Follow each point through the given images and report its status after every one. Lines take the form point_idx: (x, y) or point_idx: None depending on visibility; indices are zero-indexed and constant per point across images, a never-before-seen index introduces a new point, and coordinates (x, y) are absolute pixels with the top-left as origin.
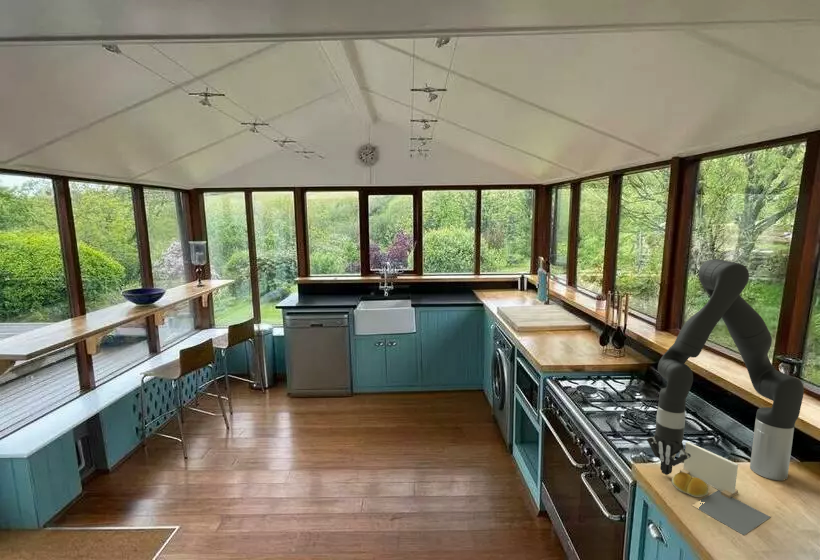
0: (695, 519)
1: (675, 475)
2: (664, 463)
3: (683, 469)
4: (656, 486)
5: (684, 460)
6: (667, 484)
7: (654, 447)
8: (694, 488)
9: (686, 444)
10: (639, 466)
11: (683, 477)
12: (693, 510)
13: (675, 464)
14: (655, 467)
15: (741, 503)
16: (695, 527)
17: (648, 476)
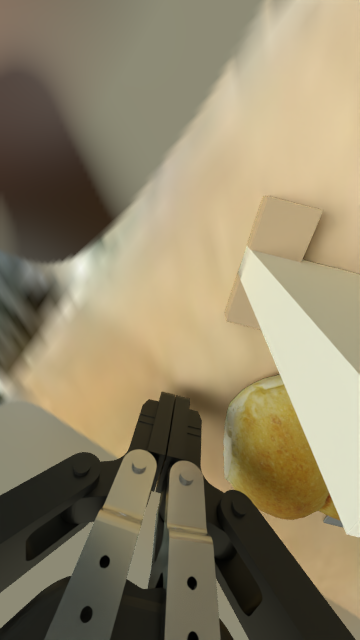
0: (343, 569)
1: (237, 478)
2: (153, 489)
3: (243, 289)
4: None
5: (254, 305)
6: (206, 452)
7: (9, 582)
8: None
9: (346, 493)
10: (44, 396)
11: (291, 516)
12: (333, 538)
13: (237, 559)
14: (99, 349)
15: None
16: (345, 594)
17: (119, 445)
